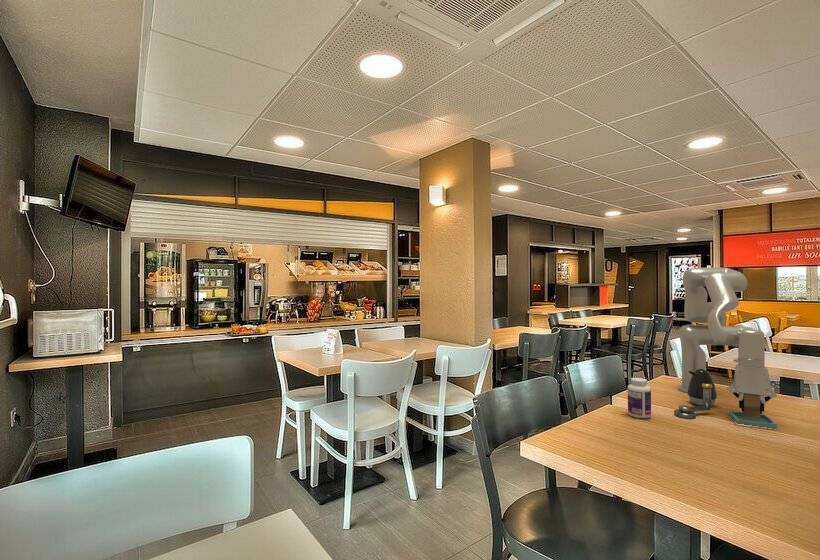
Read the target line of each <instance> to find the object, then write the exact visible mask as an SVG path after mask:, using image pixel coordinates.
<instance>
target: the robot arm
mask: <svg viewBox="0 0 820 560" xmlns="http://www.w3.org/2000/svg"><path fill="white" fill-rule="evenodd" d="M747 279H748V278H747V277H746V276H745V275H744V274H743V273H742V272H740V271H738V270H734V269H732V268H729V267H693V268H692V267H691V268H688V269H686V270H685V271H684V273H683V276H682V283H683V287H684V292H685V294H684V295H685V296H684V310H683V311H684V315H683V316H684V319H685V320H686V321H687V322H689V323H704V324H686V325H685V324H684V325H682V326H681V327H680V329H679V331H678V335H679V340H680V346H681V347H680V349H681V385H678V386H677V389H678V391H681V392H683V393H687V392H688V385H689V382H690V379H691V377H692V374H690V373H689V371H692V372H695V371H696V370H697V369H704V370H706V371H707V354H706V352H705V351H704V350H703V348H702V347H701V346H727V347H730V346H732V347H733V346H734V347H736V346H737V349H738V350H737V351H738V355H737V357H733V362H734V363H737V364H735V367H734V368H735V369H734V374H733V382H732V383H731V384H730V385H729V386H728V387H727V388H726V391H728V392H729V393H730V394H732V395H733V396H734V397H736V399H737V400H738V409H740V411H741V412H744V400H743V396H744V394H752V395H760V414H763V412H765V404H766V403H768V401H770V400H772V399H774V398H777V397H778V394H777V393H776V392H775V390H774V389H773V388H772V387H771V384H770V383H771V381H770V374H769V373H770V372H769V370H768V367H766V365H765V362H766V361H765V354H766V353H765V344H766V343H765V333H764V331H762V330H761V329H755V328H753V327H750V326H738V325H737V326H734V325H733V326H732V325H730V326H729V325H726V318H727V317H726V315H727V314H726V313H728V312H729V313H730V312H731V311H733V310H735V309H737V307H738V306H739V305H740V301H739V299H738V297H737V294H736V293H737V292H738V293H739V292H744V291H745V290H746V289H747V287H748V280H747ZM708 296H709V297H710V300H711V302H708ZM705 323H707V324H705Z"/></svg>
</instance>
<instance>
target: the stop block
mask: <svg viewBox="0 0 820 560" xmlns="http://www.w3.org/2000/svg"><path fill="white" fill-rule="evenodd" d="M743 400H744V412H743V411H742V412H743V413H744V416H749V417H756V418H760V395H752V394H744V396H743Z"/></svg>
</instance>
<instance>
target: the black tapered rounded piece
mask: <svg viewBox="0 0 820 560" xmlns="http://www.w3.org/2000/svg"><path fill="white" fill-rule="evenodd" d="M689 373H690V374H692V377H691V379H690V382H689V385H688V392H686V394H687V395H688V398H689V401H690V402H691V403H692V404H694V405H695V406H701V405H703V387H702V383H708V384H712V388H711V406H713V405H714V404H715V403H716V400H717V398H718V395H717V394H718V393H717V390H716V389H717V388H716V385H715V382H714V379H713V377H712V376H711V374H710V373H709V371H708V370H707V369H706V370H704V369H697V370H696V371H695V372H692V371H689Z"/></svg>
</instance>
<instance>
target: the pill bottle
mask: <svg viewBox="0 0 820 560" xmlns="http://www.w3.org/2000/svg"><path fill="white" fill-rule="evenodd" d="M630 382H631V383H630V384H628V385H627V413H628V415H629V416H631V417H633V418H637V419H649V418H651V417H652V390H651V389H652V388H651V387H650V386H649V385H647V384H648V380H647V379H645V378H642V377H631V378H630Z"/></svg>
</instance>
